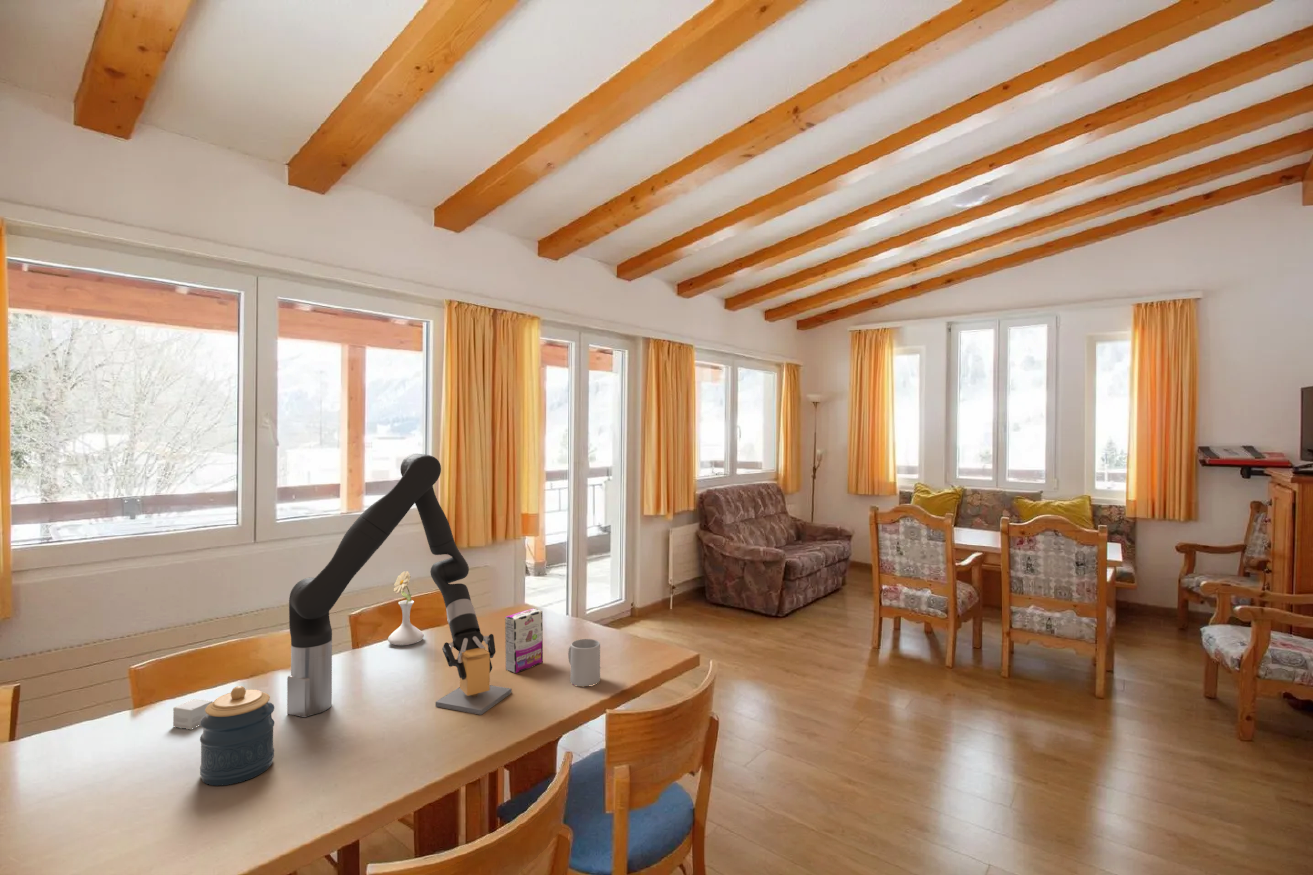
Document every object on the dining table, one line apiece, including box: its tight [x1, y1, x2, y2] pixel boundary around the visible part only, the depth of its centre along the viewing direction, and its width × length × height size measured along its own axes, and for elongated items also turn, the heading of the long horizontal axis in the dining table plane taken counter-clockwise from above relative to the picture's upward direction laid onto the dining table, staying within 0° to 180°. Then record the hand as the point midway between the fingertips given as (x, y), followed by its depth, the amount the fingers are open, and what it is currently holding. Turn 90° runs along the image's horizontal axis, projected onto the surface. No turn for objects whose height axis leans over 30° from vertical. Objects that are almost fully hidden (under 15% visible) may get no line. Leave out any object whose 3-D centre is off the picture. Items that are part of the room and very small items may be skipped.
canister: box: [199, 685, 275, 787], centre depth 130 cm, size 13×13×18 cm
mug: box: [567, 638, 601, 687], centre depth 179 cm, size 12×8×11 cm
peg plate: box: [435, 684, 513, 716], centre depth 165 cm, size 14×14×6 cm
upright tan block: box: [459, 648, 491, 696], centre depth 165 cm, size 6×6×10 cm
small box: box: [172, 698, 213, 730], centre depth 150 cm, size 6×6×5 cm
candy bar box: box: [504, 608, 544, 674], centre depth 188 cm, size 11×5×16 cm, turn 143°
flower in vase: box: [387, 570, 425, 646], centre depth 208 cm, size 13×11×25 cm
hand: (477, 675), depth 164 cm, fingers closed on upright tan block, 6 cm apart
